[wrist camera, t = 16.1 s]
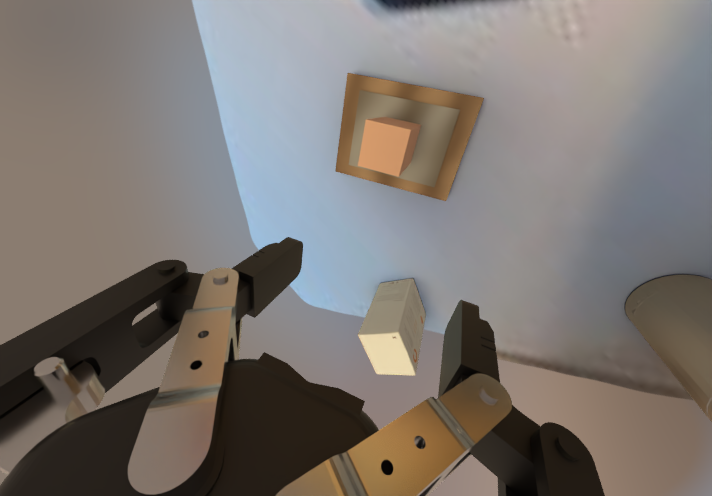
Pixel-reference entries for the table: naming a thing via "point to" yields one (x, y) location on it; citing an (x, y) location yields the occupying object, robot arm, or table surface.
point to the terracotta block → (388, 145)
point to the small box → (394, 328)
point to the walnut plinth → (416, 105)
